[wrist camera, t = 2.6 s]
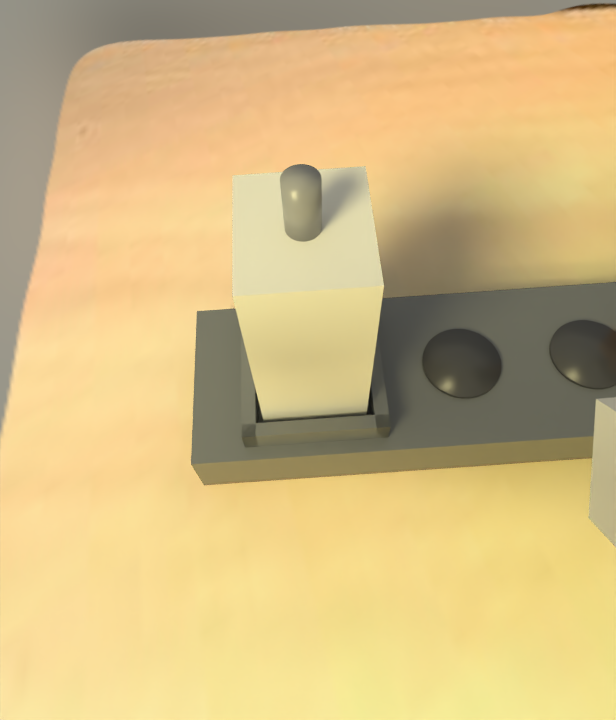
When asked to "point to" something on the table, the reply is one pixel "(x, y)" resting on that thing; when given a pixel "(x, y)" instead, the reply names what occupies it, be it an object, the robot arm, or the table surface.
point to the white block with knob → (307, 289)
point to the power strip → (424, 389)
